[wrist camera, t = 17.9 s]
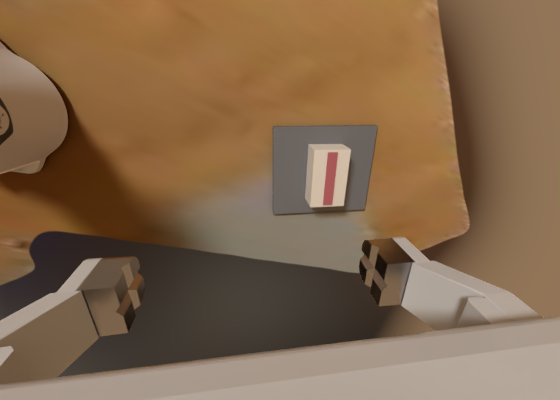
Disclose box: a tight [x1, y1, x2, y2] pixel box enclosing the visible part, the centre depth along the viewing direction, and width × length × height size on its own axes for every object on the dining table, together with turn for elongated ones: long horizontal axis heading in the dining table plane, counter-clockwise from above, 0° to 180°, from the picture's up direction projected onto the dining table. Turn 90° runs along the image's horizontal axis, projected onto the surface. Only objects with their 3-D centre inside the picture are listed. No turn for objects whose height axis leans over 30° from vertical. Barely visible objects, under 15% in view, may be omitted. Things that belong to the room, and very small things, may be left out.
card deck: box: [305, 144, 351, 207], centre depth 46 cm, size 10×6×4 cm, turn 179°
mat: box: [273, 125, 378, 214], centre depth 49 cm, size 18×16×1 cm
